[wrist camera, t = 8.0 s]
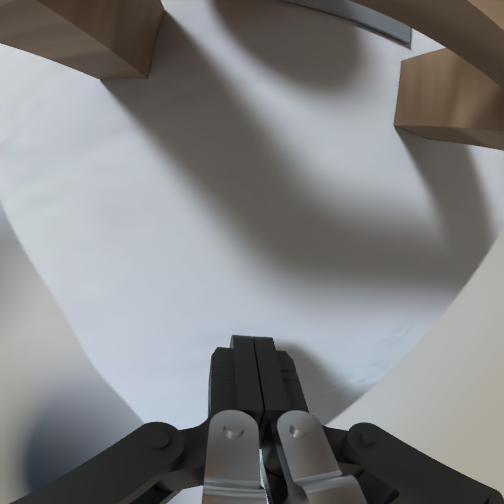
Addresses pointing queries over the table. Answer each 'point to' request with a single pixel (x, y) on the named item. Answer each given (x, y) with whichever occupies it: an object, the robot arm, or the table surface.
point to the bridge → (388, 3)
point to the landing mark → (361, 16)
